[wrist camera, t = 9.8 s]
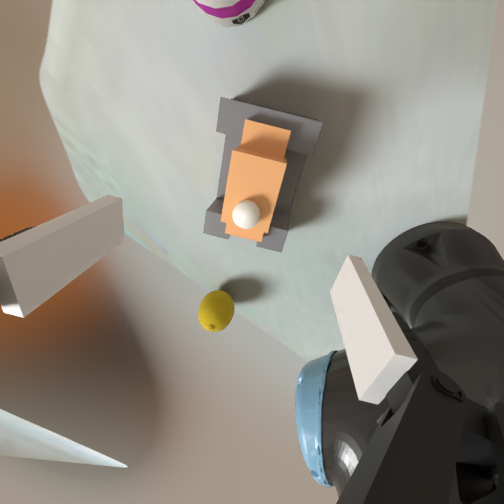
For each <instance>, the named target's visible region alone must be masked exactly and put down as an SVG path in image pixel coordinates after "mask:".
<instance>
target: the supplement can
mask: <svg viewBox="0 0 504 504" xmlns="http://www.w3.org/2000/svg"><path fill="white" fill-rule="evenodd" d="M192 1H193V2H194V3H195V5H196V6H197V7H198V9H199V10H200V11H201V12H202V13H203V14H204V15H205V16H206V17H207V18H209V19H210V20H211V21H212V22H213V23H216V24H219V25H222V26H225V27H231V26H238V25H242V24H243V23H245V22H246V21H248V20H249V19H251V18H252V17H254V16H255V14H256V13H257V11H258V10H259V9H260V7H261V6H262V5H263V3H264V2H265V0H192Z"/></svg>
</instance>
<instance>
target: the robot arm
mask: <svg viewBox="0 0 504 504" xmlns="http://www.w3.org/2000/svg"><path fill="white" fill-rule="evenodd" d="M123 241H124V228H123V210H122V198H119V197H115V196H111V195H107V196H105V197H103V198H100V199H98V200H96V201H94V202H91V203H89V204H87V205H84V206H82V207H80V208H77V209H75V210H73V211H71V212H68V213H66V214H64V215H61V216H59V217H57V218H55V219H52V220H50V221H48V222H45V223H43V224H41V225H38V226H35V227H30V228H26V229H24V230H21V231H19V232H17V233H14V234H13V235H9V236H7V237H5V238H3V240H2V239H0V304H1V307H2V309H3V311H4V313H7V314H11V315H15V316H19V317H25V316H26V315H28V314H29V313H30V312H32V311H33V310H34V309H36V308H37V307H38V306H40V305H41V304H42V303H43V302H45V301H46V300H47V299H49V298H50V297H51V296H53V295H54V294H55V293H57V292H58V291H59V290H60V289H62V288H63V287H64V286H66V285H67V284H68V283H69V282H71V281H72V280H73V279H75V278H76V277H77V276H79V275H80V274H81V273H83V272H84V271H85V270H87V269H88V268H89V267H91V266H92V265H93V264H95V263H96V262H97V261H98V260H100V259H101V258H102V257H104V256H105V255H106V254H107V253H109V252H110V251H111V250H112V249H114V248H115V247H117V246H118V245H119V244H120V243H122V242H123ZM330 294H331V297H332V301H333V305H334V309H335V312H336V316H337V320H338V324H339V327H340V331H341V335H342V339H343V342H344V346H345V349H343V350H340V351H331V352H330V353H329V354H328V355H325V356H323V357H320V358H317V359H315V360H312V361H310V362H308V363H307V364H306V365H305V366H304V367H303V368H302V370H301V372H300V374H299V377H298V381H297V388H296V395H295V412H296V423H297V430H298V436H299V441H300V446H301V450H302V453H303V456H304V459H305V462H306V464H307V466H308V468H309V469H310V470H311V474H312V476H313V477H314V479H315V480H316V481H317V482H318V483H319V484H322V485H325V486H326V487H328V488H329V487H332V486H335V487H336V490H337V493H338V496H339V500H338V501H337V503H336V504H504V260H503V259H502V257H501V256H500V254H499V253H498V251H497V249H496V248H495V246H494V245H493V244H492V243H491V242H490V241H489V240H488V239H487V238H486V237H484V236H483V235H481V234H480V233H478V232H476V231H475V230H473V229H471V228H469V227H467V226H464V225H461V224H457V223H450V222H438V223H430V224H426V225H422V226H418V227H416V228H413V229H411V230H409V231H407V232H405V233H403V234H401V235H399V236H398V237H396V238H395V239H394V240H392V241H391V242H390V243H389V244H388V245H387V246H386V247H385V248H384V249H383V250H382V251H381V253H380V254H379V256H378V257H377V259H376V261H375V263H374V266H373V270H372V276H371V274H370V273H369V271H368V269H367V267H366V265H365V264H364V262H363V260H362V258H360V257H356V256H352V255H348V256H347V258H346V260H345V262H344V264H343V266H342V268H341V270H340V272H339V274H338V276H337V278H336V280H335V283H334V285H333V287H332V289H331V291H330ZM408 324H409V325H410V326H411V327H412V329H410V327H409V326H408Z"/></svg>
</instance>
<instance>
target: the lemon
mask: <svg viewBox="0 0 504 504" xmlns="http://www.w3.org/2000/svg"><path fill="white" fill-rule="evenodd" d="M233 314H234V302H233V300H232V298H231V296H230V295H229V294H228V293H226V292H224V291H220V290H217V291H212V292H210V293H209V294H207V295H206V296H205V298H204V299H203V300H202V302H201V304H200V307H199V313H198V316H199V321H200V323H201V325H202V326H203V328H205V329H206V330H208V331H212V332H217V331H221V330H223V329H224V328H225V327H226V326H227V325H228V324H229V323H230V321H231V319H232V317H233Z"/></svg>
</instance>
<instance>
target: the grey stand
mask: <svg viewBox="0 0 504 504" xmlns="http://www.w3.org/2000/svg"><path fill="white" fill-rule="evenodd" d="M245 119H248V120H252V121H256V122H260V123H263V124H267V125H271V126H275V127H279V128H283V129H287V130H291V133H290V137H289V141H288V144H287V148H286V158H287V165H286V169H285V173H284V176H283V180H282V183H281V187H280V190H279V194H278V198H277V201H276V205H275V208H274V212H273V216H272V219H271V223H270V226H269V230H268V233H265V232H264V233H263V237H262V241H261V242H258V241H257V247H261V248H266V249H270V250H274V251H278V252H282V249H283V246H284V243H285V240H286V236H287V233H288V213H289V209H290V206H291V203H292V200H293V197H294V193H295V190H296V187H297V184H298V180H299V177H300V174H301V171H302V168H303V164H304V161H305V158H306V155H307V154H308V155H312V156H313V153H314V150H315V147H316V144H317V140H318V137H319V134H320V131H321V128H322V125H323V123H322V122H318V121H317V120H316V119H312V118H308V117H304V116H300V115H296V114H292V113H288V112H284V111H280V110H276V109H272V108H268V107H264V106H260V105H256V104H252V103H248V102H244V101H240V100H236V99H232V98H231V99H227V98H223V97H221V98H220V106H219V114H218V122H217V130H216V132H220V133H224V134H226V138H225V145H224V152H223V159H222V165H221V172H220V179H219V186H218V193H217V198H216V200H215V201H214V202H213V203H212V204H211V206H210V207H209V208H208V209H207V210H206V216H205V224H204V232H203V233H205V234H209V235H213V236H217V237H221V238H225V239H229V237H230V234H226V233H225V229H226V223H224V222H220V221H221V215H222V209H223V203H224V197H225V191H226V185H227V179H228V173H229V167H230V161H231V155H232V150H233V149H235V148H236V147H238V146H239V145H241V140H242V134H243V129H244V123H245Z"/></svg>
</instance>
